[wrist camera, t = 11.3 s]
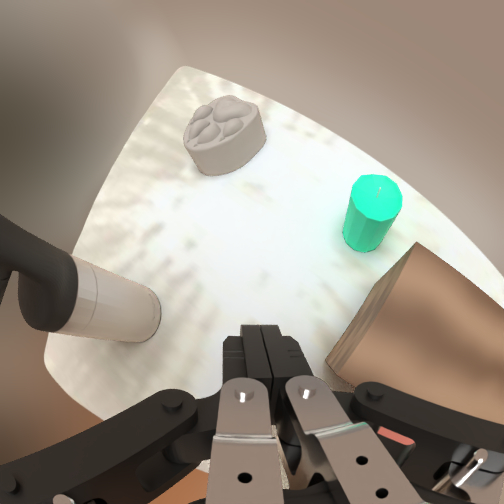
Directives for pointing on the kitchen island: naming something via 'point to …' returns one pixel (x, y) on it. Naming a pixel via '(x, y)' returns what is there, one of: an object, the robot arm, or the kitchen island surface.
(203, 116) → the lumpy-topped squat cylinder
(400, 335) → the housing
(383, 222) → the candle
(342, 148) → the kitchen island surface
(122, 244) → the kitchen island surface
